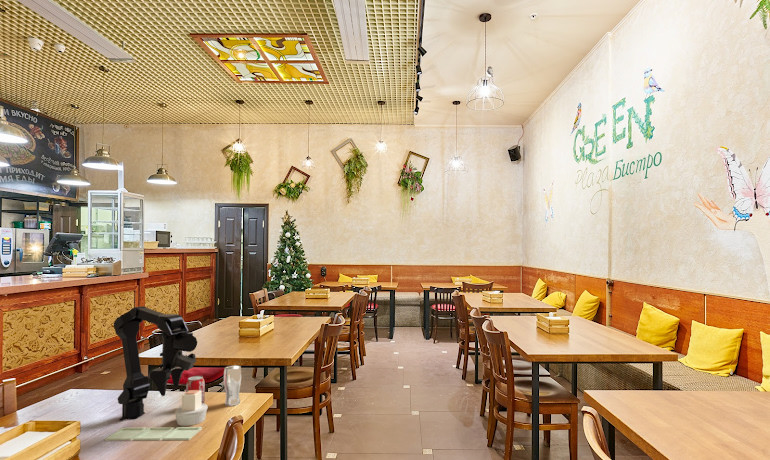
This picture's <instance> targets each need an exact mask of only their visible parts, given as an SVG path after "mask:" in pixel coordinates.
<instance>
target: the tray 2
mask: <svg viewBox="0 0 770 460" xmlns="http://www.w3.org/2000/svg"><path fill="white" fill-rule="evenodd" d="M174 429H175V427H174V426H173V427H172V426H170V427H169V426H168V427H167V426H165V427H164V426H163V427H149V428H148V427H147V430H145V431H144V432H143V433H141V434H140V435H138V436H137V437H135V438H134V439H133V441H161V440H163V438H164V437H165V436H167V435H168V434H169V433H170V432H172V431H173V430H174Z"/></svg>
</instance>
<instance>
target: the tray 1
mask: <svg viewBox="0 0 770 460" xmlns="http://www.w3.org/2000/svg"><path fill="white" fill-rule="evenodd" d="M147 429H148V427H146V426H145V427H143V426H141V427H121V428H120V429H118V430H116V431H115V432H114V433H112V434H110V435H109V436H107V437H106V438H105V440H104V441H105V442H106V441H107V442H109V441H114V442H115V441H119V442H120V441H122V442H123V441H132V440H133V441H134V438H135V437H137V436H138V435H140V434H141V433H143V432H144V431H145V430H147Z"/></svg>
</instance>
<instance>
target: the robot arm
mask: <svg viewBox="0 0 770 460" xmlns="http://www.w3.org/2000/svg"><path fill="white" fill-rule="evenodd" d="M143 322H147V323H150V324H153V325H156V328H157V329H158V330H160V331H162V332H160V333H159V334H158V337H161V338H162V351H161V352H160V353H159V357H161V358H162V359H161V363H160V364H159V367H156V368H154V369H152V370H151V371H149V373H148V375H144V374H143V373H142V367H141V360H140V354H139V347H138V346H139V345H138V339H137V335H138V333H139V330H140V329H141V328H140V324H141V323H143ZM113 328H114V332H115V334H116V336H117V337H118V338H119V339H120V340H121V345H122V351H123V358H124V359H123V360H124V365H125V374H126V377H125V380H124V382H123V385H122V388H123V389H122V392H121V393H120V394H119V396H118V397H117V402H118V403H117V404H119V405H122V409H121V413H122V415H121V417H120V418H119V420H120V421H124V420H137V419H139V418H140V417H142V416H143V415H145V414H146V412H145V404H144V399H147V398H148V394H149V391H150V386H151V384H150V382H149V381H152V382H153V383H154V385H155V386H156V388H157V390H158V392H159V394H160V395H161V396H162V397H165V396H166V391H167V386H168V382H169V380H170V379H172V384H173V387H174V388H178V387H179V385H180V381H181V379H182V375H183V374H184V372H185V371H190V369H193V367H194V365H195V364H196V362H197V358H196V354H195V353H193V351H194V350H195V349H196V348H197V345H198V340H197V337H196V336H194V333H193V332H189V329H188V328H189V327H187V324H186V323H185V320H184V318H183V316H182V315H181V314H178V313H177V314H176V313H162V312H159V311H157V310H154V309H151V308H148V307H147V306H144V305H142V306H134V307H132V308H131V309H130V310H129V311H127V312H125V313H123V314H121V315H120V316H118V317H116V319H115V320H114V322H113ZM183 352H187V353H189V354H188V355H187V354H186V355H184V354H183ZM191 352H192V353H191Z"/></svg>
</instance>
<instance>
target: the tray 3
mask: <svg viewBox="0 0 770 460" xmlns="http://www.w3.org/2000/svg"><path fill="white" fill-rule="evenodd" d="M202 429H203V427H202V426H180V427H179V426H177V427H176V428H174V430H173V431H171V432H170V433H169V434H168V435H166V436H165V437H164V438H162V441H190V440H191V439H193V437H195V436H196V435H197V434H198V433H199V432H200V431H202Z"/></svg>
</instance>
